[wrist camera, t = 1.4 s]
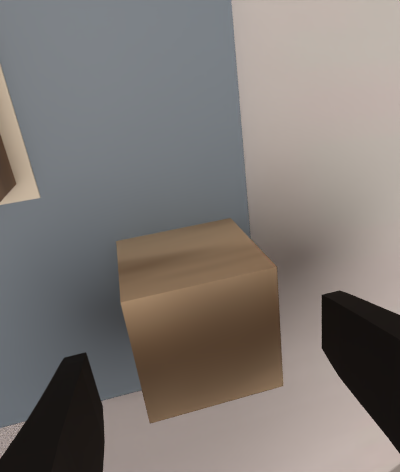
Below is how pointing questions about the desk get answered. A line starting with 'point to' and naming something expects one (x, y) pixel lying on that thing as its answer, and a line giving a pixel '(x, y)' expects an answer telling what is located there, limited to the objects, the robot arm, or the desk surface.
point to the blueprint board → (104, 169)
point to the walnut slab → (5, 173)
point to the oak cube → (200, 316)
